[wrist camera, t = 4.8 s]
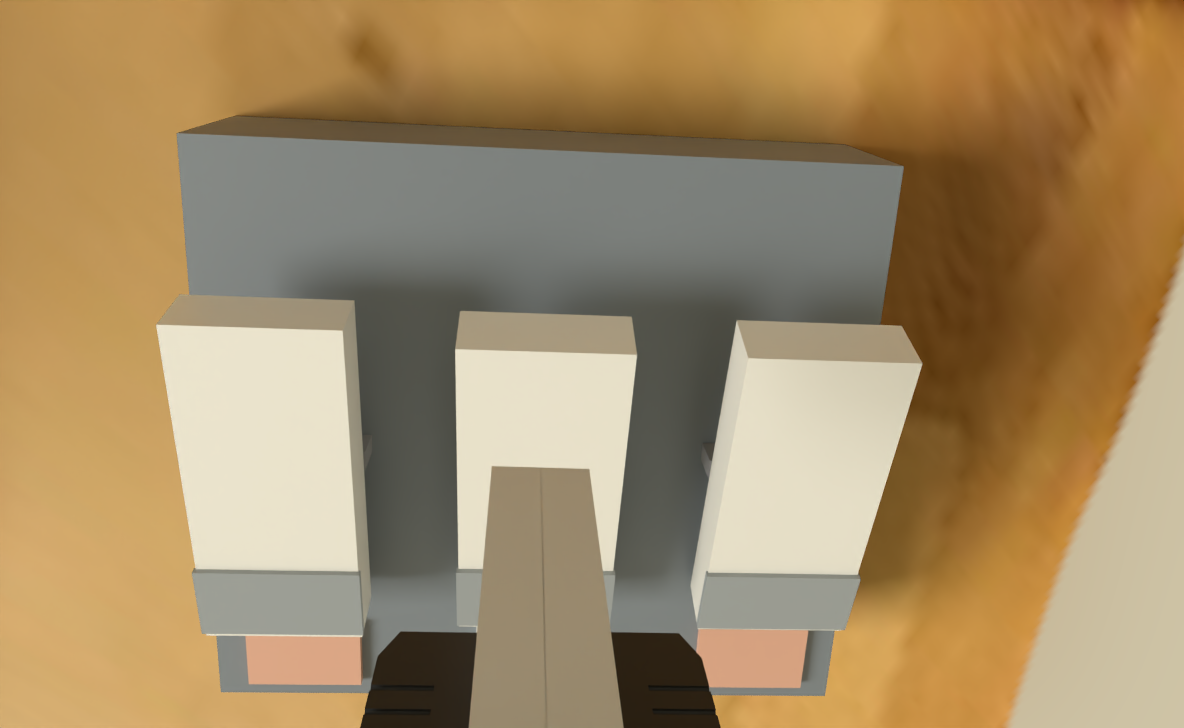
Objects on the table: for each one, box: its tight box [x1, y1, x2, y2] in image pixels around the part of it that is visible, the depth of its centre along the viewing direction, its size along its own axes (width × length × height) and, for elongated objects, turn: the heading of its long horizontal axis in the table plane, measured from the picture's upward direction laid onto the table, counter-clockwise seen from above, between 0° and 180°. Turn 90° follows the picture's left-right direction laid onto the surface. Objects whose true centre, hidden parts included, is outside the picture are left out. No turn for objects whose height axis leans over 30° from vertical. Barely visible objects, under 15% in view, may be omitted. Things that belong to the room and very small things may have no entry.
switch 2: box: [455, 311, 637, 627], centre depth 25 cm, size 9×4×2 cm, turn 176°
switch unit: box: [177, 116, 904, 696], centre depth 29 cm, size 16×18×6 cm
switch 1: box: [156, 294, 371, 637], centre depth 25 cm, size 9×4×2 cm, turn 177°
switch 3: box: [690, 320, 923, 631], centre depth 25 cm, size 9×4×2 cm, turn 176°
